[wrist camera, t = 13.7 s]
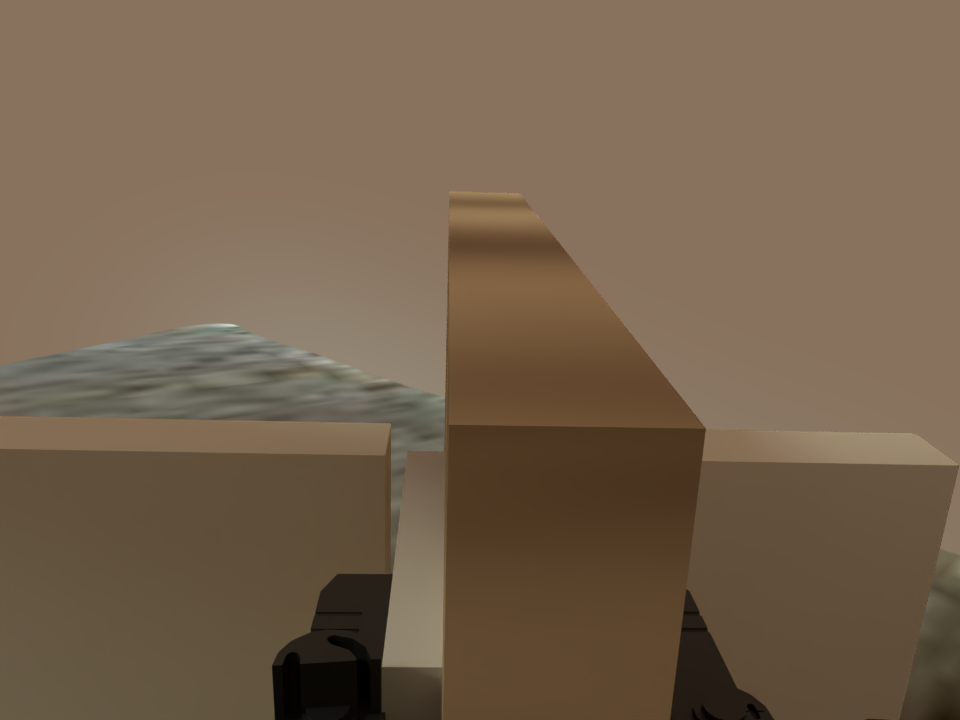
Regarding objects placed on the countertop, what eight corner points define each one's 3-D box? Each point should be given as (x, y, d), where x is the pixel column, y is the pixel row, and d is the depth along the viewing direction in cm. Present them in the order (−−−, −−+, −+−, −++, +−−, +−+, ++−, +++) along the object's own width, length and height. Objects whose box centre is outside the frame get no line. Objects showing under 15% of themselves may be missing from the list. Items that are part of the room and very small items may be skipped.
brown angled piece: (735, 1426, 11) (956, 432, 6) (270, 1444, 10) (184, 420, 6) (559, 617, 27) (590, 195, 23) (381, 616, 27) (378, 189, 23)
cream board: (31, 901, 23) (-49, 448, 19) (63, 840, 25) (-3, 415, 21) (858, 895, 24) (959, 465, 20) (828, 837, 26) (914, 433, 22)
